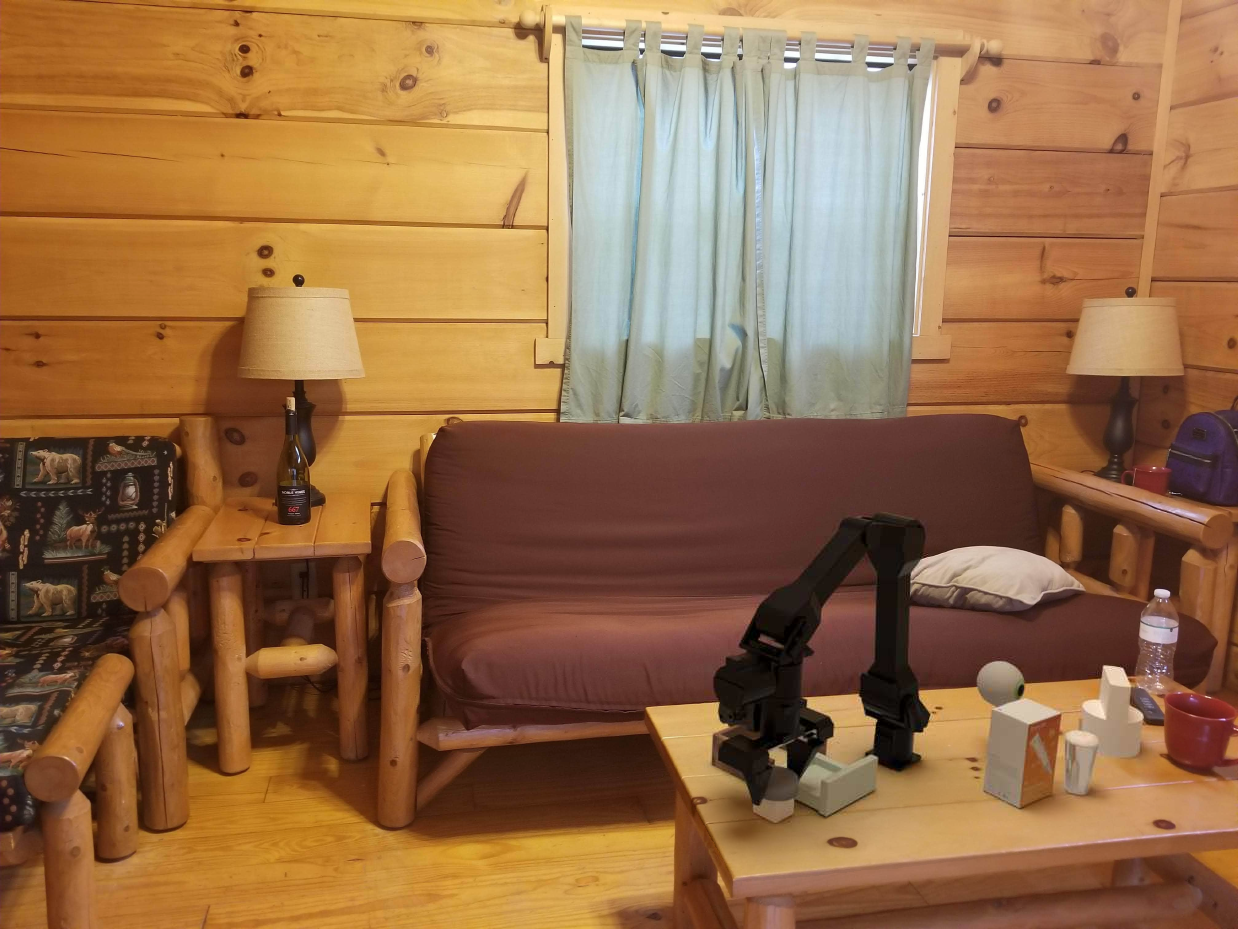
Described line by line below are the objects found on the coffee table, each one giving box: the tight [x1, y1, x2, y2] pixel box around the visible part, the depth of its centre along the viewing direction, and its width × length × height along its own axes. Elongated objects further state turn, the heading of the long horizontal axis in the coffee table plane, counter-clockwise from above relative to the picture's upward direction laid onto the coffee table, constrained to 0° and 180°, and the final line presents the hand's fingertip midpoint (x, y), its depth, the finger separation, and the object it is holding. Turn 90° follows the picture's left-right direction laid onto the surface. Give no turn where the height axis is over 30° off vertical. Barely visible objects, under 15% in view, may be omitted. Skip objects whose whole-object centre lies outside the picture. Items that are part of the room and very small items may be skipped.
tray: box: [779, 752, 879, 817], centre depth 146 cm, size 11×12×5 cm
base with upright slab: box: [1080, 665, 1144, 759], centre depth 162 cm, size 9×9×12 cm
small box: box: [982, 697, 1062, 809], centre depth 145 cm, size 8×6×13 cm
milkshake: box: [1063, 718, 1099, 796], centre depth 147 cm, size 4×5×10 cm
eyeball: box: [976, 660, 1026, 708], centre depth 158 cm, size 7×7×15 cm
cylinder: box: [763, 765, 799, 801], centre depth 138 cm, size 6×6×2 cm
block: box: [752, 798, 795, 824], centre depth 139 cm, size 4×4×4 cm
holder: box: [711, 725, 828, 782], centre depth 153 cm, size 12×13×5 cm
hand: (774, 795), depth 139 cm, fingers open, 7 cm apart
